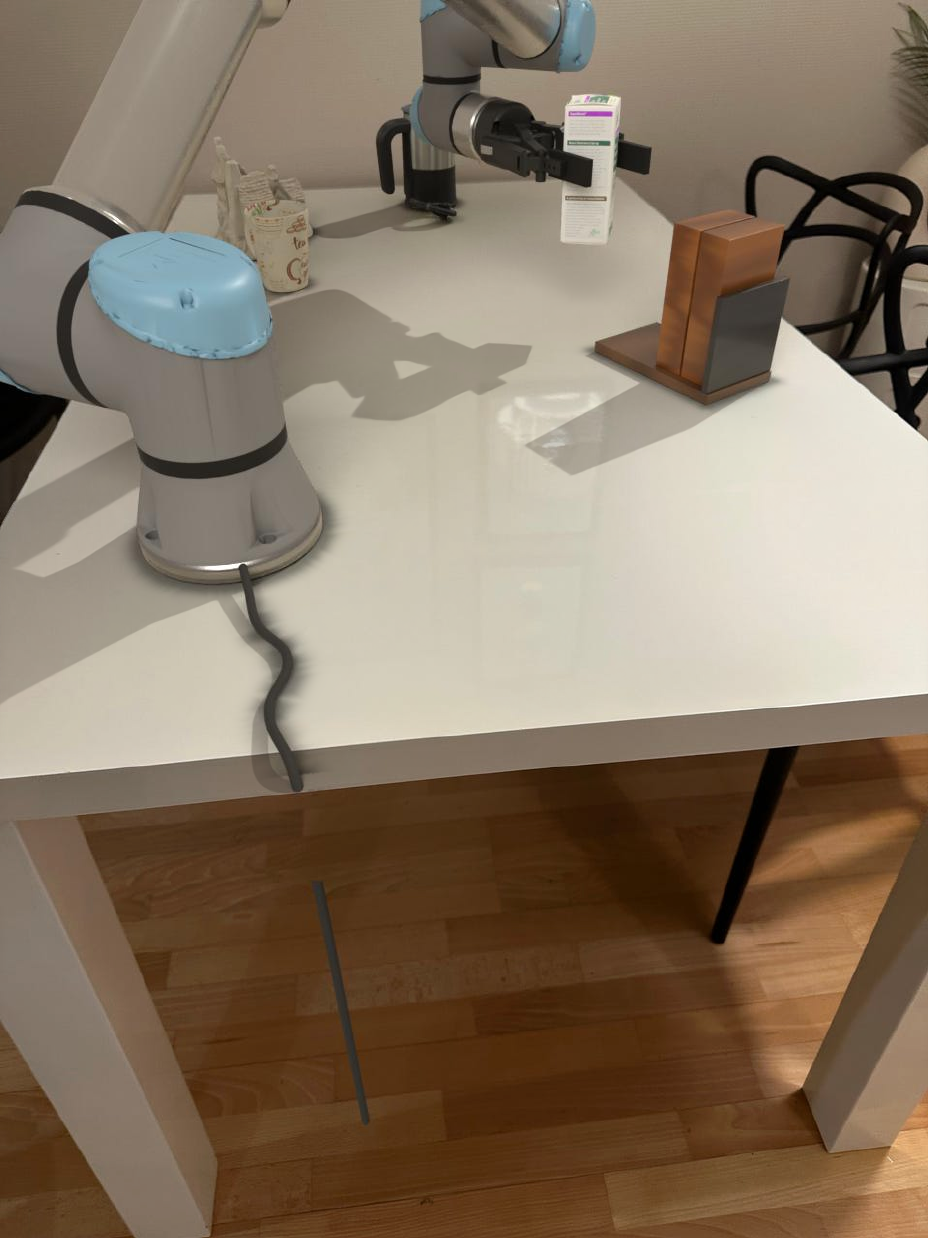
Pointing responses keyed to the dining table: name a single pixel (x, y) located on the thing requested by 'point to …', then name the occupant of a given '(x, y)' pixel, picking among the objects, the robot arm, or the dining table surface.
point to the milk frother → (418, 168)
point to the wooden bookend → (712, 309)
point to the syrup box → (595, 138)
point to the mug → (279, 243)
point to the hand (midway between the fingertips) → (619, 167)
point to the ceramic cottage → (246, 195)
